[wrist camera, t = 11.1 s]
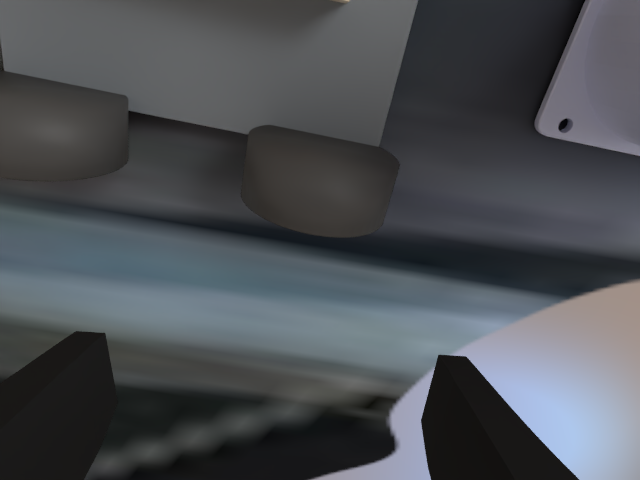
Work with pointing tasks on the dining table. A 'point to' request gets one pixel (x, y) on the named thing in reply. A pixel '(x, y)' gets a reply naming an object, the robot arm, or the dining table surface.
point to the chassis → (213, 94)
